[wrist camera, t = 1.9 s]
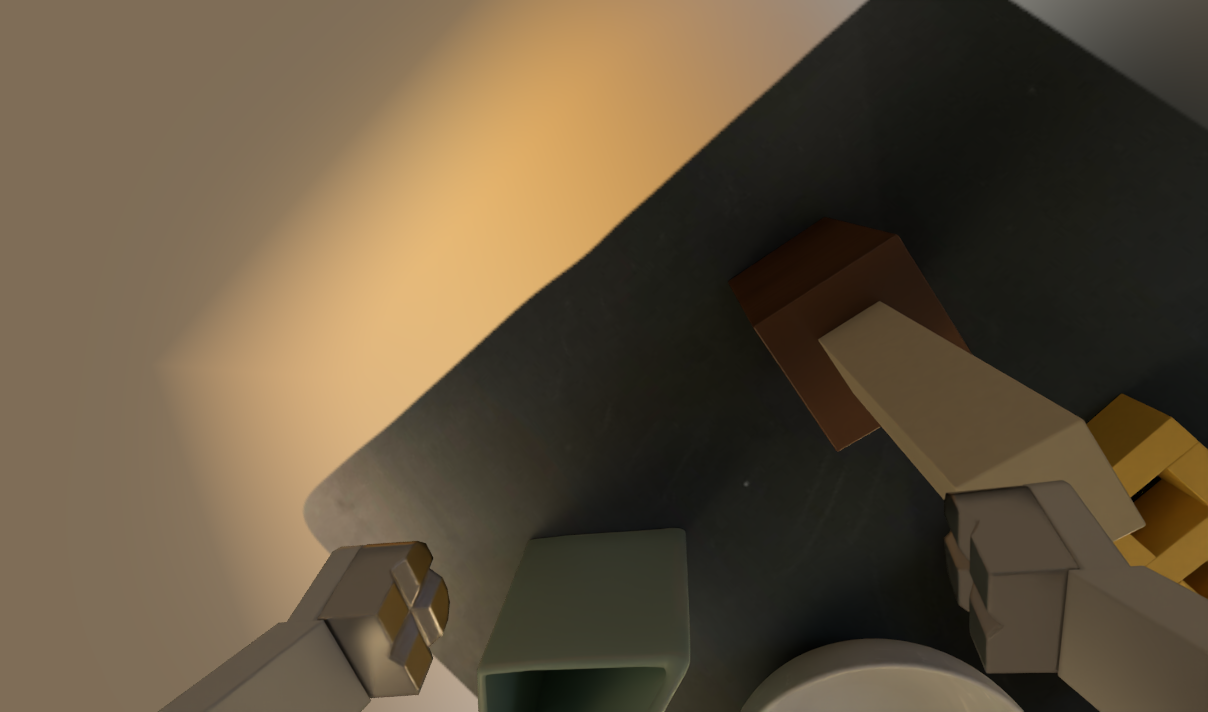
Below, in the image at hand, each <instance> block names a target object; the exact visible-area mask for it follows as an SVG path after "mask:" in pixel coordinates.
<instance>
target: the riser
mask: <svg viewBox="0 0 1208 712" xmlns="http://www.w3.org/2000/svg"><path fill="white" fill-rule="evenodd" d="M728 283H729V285H730V287H731V288H732V290H733V292H734V294H735V296H736V298H737V299H738V301H739V303H740V305H741V307H742V308H743V310H744V312H745V314H746V316H747V317H748V319H749V321H750V323H751V325H752V327H753V328H754V330H755V331H756V333H757V334H758V336H759V337H760V339H761V340H762V342H763V343H764V345H765V346H766V348H767V349H768V351H769V352H770V354H771V355H772V357H773V358H774V360H775V361H776V362H777V364H778V365H779V367H780V368H781V370H782V371H783V373H784V374H785V376H786V377H787V379H788V380H789V382H790V383H791V385H792V386H793V388H794V389H795V391H796V392H797V394H798V395H799V397H800V398H801V399H802V401H803V402H804V404H805V405H806V407H807V408H808V410H809V411H810V413H811V414H812V416H813V417H814V419H815V420H816V422H817V423H818V425H819V426H820V428H821V429H822V431H823V432H824V434H825V435H826V436H827V438H828V439H829V441H830V442H831V444H832V445H833V447H834V448H835V450H836V451H840V450H842V449H843V448H845V447H847V446H849V445H850V444H852V443H854V442H856V441H857V440H859V439H861V438H862V437H864V436H866V435H868V434H869V433H871V432H873V431H875V430H876V429H878V428H880V427H881V425H880V424H879V423H878V422H877V421H876V419H875V418H874V417H873V416H872V415H871V414H870V412H869V411H868V410H867V409H866V408H865V406H864V405H863V404H862V403H861V402H860V401H859V399H858V398H857V397H856V396H855V395H854V394H853V392H852V391H851V389H850V388H849V386H848V384H847V383H846V381H845V380H844V378H843V377H842V375H841V374H840V372H839V371H838V369H837V368H836V366H835V365H834V363H833V362H832V360H831V359H830V357H829V356H828V354H827V353H826V351H825V350H824V348H823V347H822V345H821V344H820V342H819V341H818V339H819V338H821V337H822V336H824V335H826V334H827V333H829V332H830V331H832V330H834V329H835V328H837V327H838V326H840V325H842V324H843V323H845V322H846V321H848V320H850V319H851V318H853V317H854V316H856V315H858V314H859V313H861V312H862V311H864V310H866V309H867V308H869V307H870V306H872V305H874V304H875V303H877V302H878V301H881V302H882V303H884V304H886V305H887V306H889V307H891V308H893V309H894V310H896V311H898V312H899V313H901V314H903V315H905V316H906V317H908V318H910V319H911V320H913V321H915V322H917V323H918V324H920V325H922V326H923V327H925V328H927V329H929V330H930V331H932V332H934V333H935V334H937V335H939V336H941V337H942V338H944V339H946V340H947V341H949V342H951V343H953V344H954V345H956V346H958V347H959V348H961V349H963V350H965V351H966V352H968V353H970V354H971V355H972V353H971V351H970V350H969V348H968V347H967V345H966V343H965V342H964V340H963V339H962V337H961V335H960V334H959V332H958V331H957V329H956V327H955V326H954V324H953V323H952V321H951V319H950V318H949V316H948V314H947V313H946V311H945V310H944V308H943V306H942V305H941V303H940V302H939V300H938V298H937V297H936V295H935V294H934V292H933V290H932V289H931V287H930V285H929V284H928V282H927V281H926V279H925V277H924V276H923V274H922V273H921V271H920V269H919V268H918V266H917V265H916V263H915V261H914V260H913V258H912V257H911V255H910V253H909V252H908V250H907V248H906V247H905V245H904V244H903V242H902V240H901V239H900V237H899V236H898V235H897V234H893V233H889V232H885V231H881V230H876V229H872V228H868V227H864V226H860V225H856V224H852V223H848V222H844V221H839V220H835V219H831V218H827V217H824V218H822V219H821V220H819V221H818V222H816V223H815V224H813V225H812V226H810V227H809V228H807V229H806V230H804V231H803V232H801V233H800V234H798V235H797V236H795V237H794V238H792V239H791V240H789V241H788V242H786V243H785V244H783V245H782V246H780V247H779V248H777V249H776V250H774V251H773V252H771V253H770V254H768V255H767V256H765V257H764V258H762V259H761V260H759V261H758V262H756V263H755V264H753V265H752V266H750V267H749V268H747V269H746V270H744V271H743V272H741V273H740V274H738V275H737V276H735V277H734V278H732V279H731V280H729V281H728Z"/></svg>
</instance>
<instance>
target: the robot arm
mask: <svg viewBox="0 0 1208 712" xmlns="http://www.w3.org/2000/svg"><path fill="white" fill-rule="evenodd" d="M944 516H945V518H946V520H947V523H948V525H949V527H950V529H951V531H950V532H949V533H948V535H947V536H946V537H945V538H944V544H945V559H946V565H947V571H948V576H949V579H950V583H951V586H952V589H953V592H954V595H955V597H956V600H957V602H958V605H959V606H961V607H962V608H964V609H965V610H966V611H968V612H969V632H970V635H971V637H972V639H973V642H974V644H975V647H976V649H977V651H978V654H979V656H980V659H981V661H982V664H983V666H984V668H985V671H986V673H1058V676H1059V677H1060V678H1061V679H1062V680H1064V681H1065V682H1066V683H1067V684H1068V685H1069V686H1071V687H1072V688H1073V689H1074V690H1075V691H1077V692H1078V693H1079V694H1080V695H1081V696H1082V697H1084V698H1085V699H1086V700H1087V701H1088V702H1090V703H1091V704H1092V705H1093V706H1094V707H1095V708H1097V709H1098V710H1099V711H1100V712H1208V599H1207V598H1205V597H1203V596H1201V595H1199V594H1197V593H1195V592H1193V591H1191V590H1189V589H1187V588H1186V587H1184V586H1182V585H1180V584H1178V583H1176V582H1174V581H1172V580H1170V579H1168V578H1166V577H1164V576H1163V575H1161V574H1159V573H1157V572H1155V571H1153V570H1151V569H1149V568H1147V567H1145V566H1130V565H1129V563H1128V562H1127V561H1126V559H1125V558H1124V557H1123V555H1122V554H1121V553H1120V551H1119V550H1118V548H1117V547H1116V546H1115V544H1114V543H1113V542H1112V540H1111V539H1110V537H1109V536H1108V535H1107V533H1106V532H1105V531H1104V529H1103V528H1102V527H1101V525H1100V524H1099V522H1098V521H1097V520H1096V518H1095V517H1094V516H1093V514H1092V513H1091V512H1090V510H1089V509H1088V507H1087V506H1086V505H1085V503H1084V502H1083V501H1082V499H1081V498H1080V497H1079V495H1078V494H1077V492H1076V491H1075V490H1074V488H1073V487H1072V486H1071V484H1069V483H1067V482H1066V481H1064V480H1059V481H1050V482H1040V483H1031V484H1023V486H1020V485H1019V486H1008V487H998V488H988V489H978V490H968V491H958V492H947V493H946V495H945V499H944ZM432 560H433V556H432V554H431V552H430V550H429V549H428V547H427V545H426V543H423V542H419V541H412V542H396V543H381V544H367V545H360V546H344V547H340V548H338V549H337V550H335V551H333V552H332V554H331V555H330V557H329V558H328V560H327V561H326V563H325V564H324V566H323V567H322V569H321V571H320V572H319V574H318V575H317V577H316V578H315V580H314V581H313V583H312V584H311V586H310V587H309V589H308V590H307V592H306V593H305V595H304V597H303V598H302V600H301V601H300V603H299V604H298V606H297V607H296V609H295V610H294V612H293V613H292V615H291V617H290V618H289V619H288V621H287V622H284V623H278V624H277V625H275V626H274V627H272V628H271V629H270V630H268V631H267V632H266V633H264V634H263V635H261V636H260V637H259V638H257V639H256V640H255V641H254V642H252V643H251V644H249V645H248V646H247V647H245V648H244V649H242V650H241V651H240V652H239V653H237V654H236V655H234V656H233V657H232V658H230V659H229V660H228V661H226V662H225V663H223V664H222V665H221V666H219V667H218V668H217V669H215V670H214V671H212V672H211V673H210V674H208V675H207V676H206V677H205V678H203V679H202V680H200V681H199V682H197V683H196V684H195V685H193V686H192V687H191V688H189V689H188V690H187V691H185V692H184V693H183V694H181V695H180V696H178V697H177V698H176V699H174V700H173V701H172V702H170V703H169V704H168V705H166V706H165V707H164V708H162V709H161V710H160V711H158V712H361V711H362V710H363V709H364V708H365V707H366V706H367V705H368V704H369V703H370V701H371V700H370V698H377V697H378V698H379V697H393V696H408V695H418V694H419V692H420V690H421V687H422V685H423V682H424V680H425V677H426V675H427V673H428V670H429V668H430V665H431V663H432V660H433V656H432V654H431V651H430V648H429V647H430V646H431V645H432V644H433V643H434V642H435V641H436V640H438V639H439V638H440V637H441V636H442V635H443V632H444V629H445V627H446V624H447V621H448V615H449V604H450V601H449V595H448V590H447V587H446V585H445V582H444V580H443V578H442V577H441V576H440V575H438V574H437V573H435V572H434V571H433V570H431V569H430V566H431V563H432Z"/></svg>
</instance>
